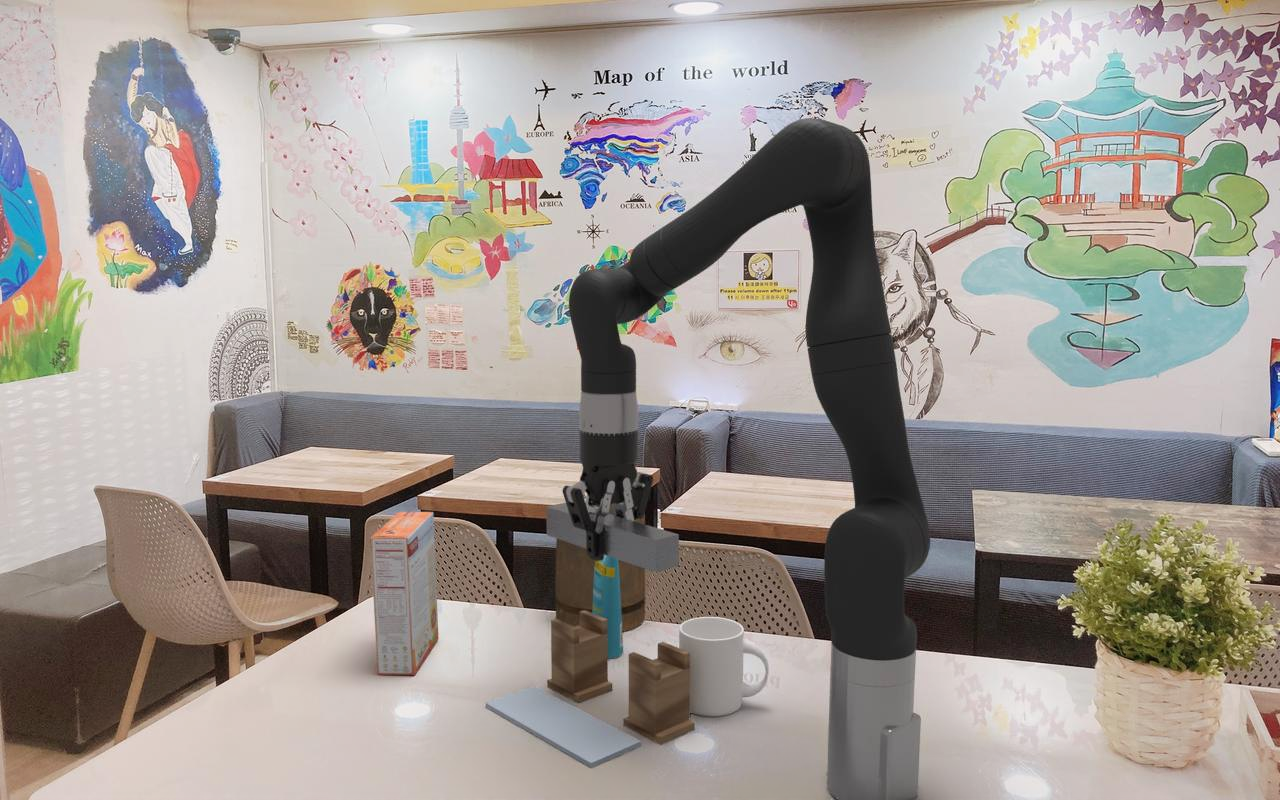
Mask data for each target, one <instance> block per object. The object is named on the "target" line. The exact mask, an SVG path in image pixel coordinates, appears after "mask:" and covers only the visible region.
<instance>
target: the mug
mask: <svg viewBox="0 0 1280 800" xmlns="http://www.w3.org/2000/svg"><path fill="white" fill-rule="evenodd" d="M678 627H679V628H678V629H679V632H678V633H679V634H678V635H679V636H678V641H679V642H678V648H680V649H682V650H685V651H687V652H689V653H690V707H689V713H692V714H694V715H697V716H702V717H721V716H722V717H723V716H727V715H730V714H732V713H734V712H736V711H737V710H739V709H740V707H741V706H742V704H743V698H750V697H754V696H755V695H757V694H759V693H760V692H761V691H762V690H763V689H764V688H765V687H766V684H767V682H768V678H769V673H770V672H769V670H770V669H769V667H770V666H769V662H768V661H769V660H768V658H767V656H766V654H765V652H764V651H763V650H762V649H761V648H760V647H759V646H758V645H757V644H755V643H754V642H752V641H751V640H749V639H747V638H746V637H744V636H745V635H744V634H745V631H744V630H745V629H744V627H743V625H742V624H741V623H740V622H738V621H735V620H733V619H729V618H725V617H717V616H702V617H700V616H699V617H694V618H690V619H687V620H685V621H683V622H682V623H681V624H680V625H679V626H678ZM744 654H749V655H753V656H755V657H757V658H759V660H761V662H762V664H763V666H764V668H765V672H764V673H765V674H764V677H763V679H762V680H761V681H760V682H759V683H757V684H753V685H752V684H748V683H746V682H744Z"/></svg>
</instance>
